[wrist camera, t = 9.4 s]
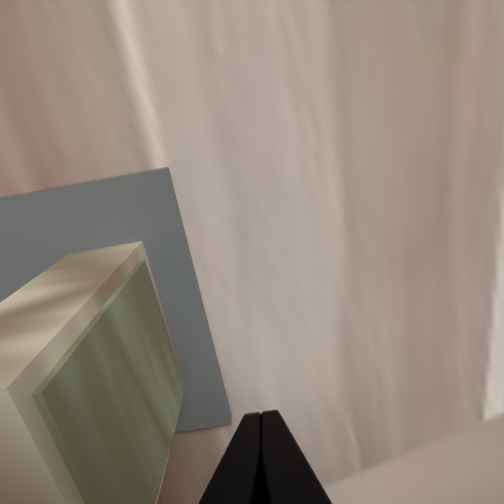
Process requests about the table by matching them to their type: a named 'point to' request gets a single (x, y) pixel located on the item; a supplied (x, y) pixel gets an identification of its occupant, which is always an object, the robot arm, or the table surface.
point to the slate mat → (118, 233)
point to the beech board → (87, 383)
